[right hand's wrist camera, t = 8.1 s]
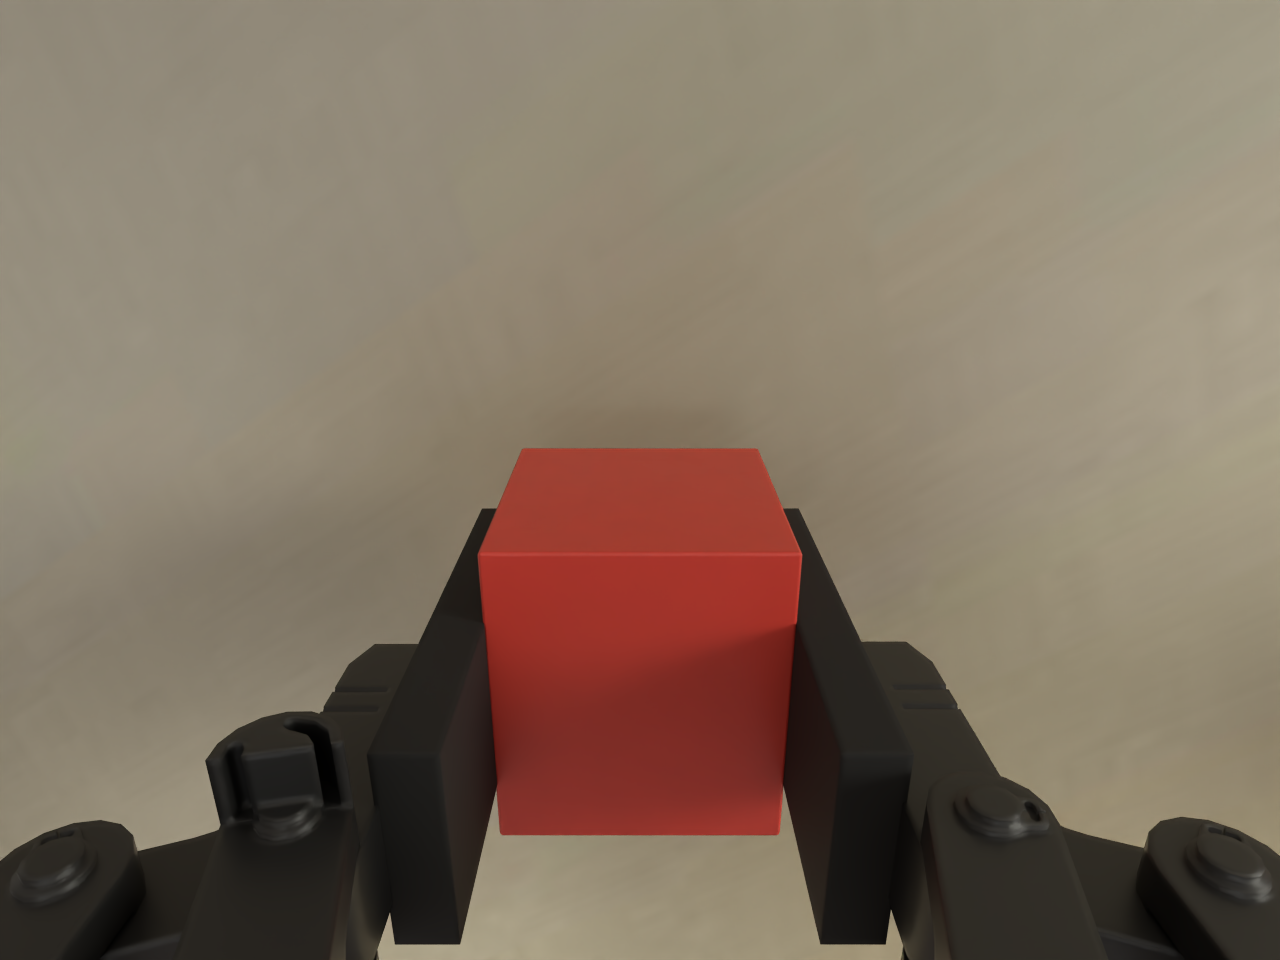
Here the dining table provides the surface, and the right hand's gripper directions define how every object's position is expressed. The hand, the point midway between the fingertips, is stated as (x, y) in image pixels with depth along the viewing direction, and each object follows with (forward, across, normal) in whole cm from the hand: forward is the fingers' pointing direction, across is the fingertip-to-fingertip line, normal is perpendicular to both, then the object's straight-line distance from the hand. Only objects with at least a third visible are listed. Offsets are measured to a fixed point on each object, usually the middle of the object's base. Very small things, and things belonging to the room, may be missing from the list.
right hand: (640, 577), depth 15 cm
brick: (0, 0, 0) cm, 0 cm away
